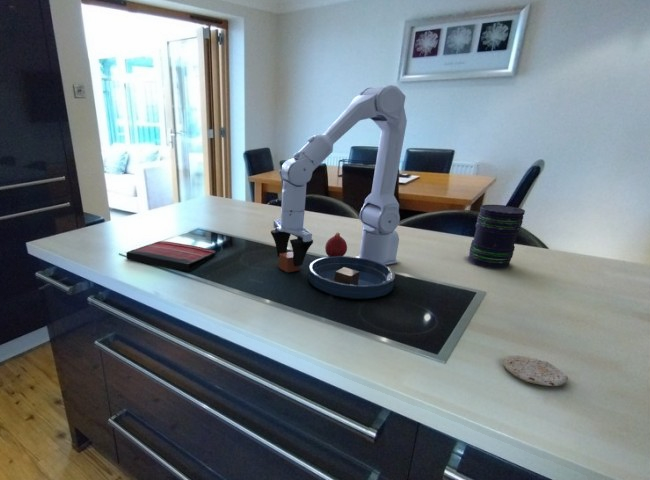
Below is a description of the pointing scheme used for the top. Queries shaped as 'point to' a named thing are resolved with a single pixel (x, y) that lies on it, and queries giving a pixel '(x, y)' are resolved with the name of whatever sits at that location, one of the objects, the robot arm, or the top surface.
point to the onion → (336, 246)
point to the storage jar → (495, 236)
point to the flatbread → (534, 371)
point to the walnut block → (347, 276)
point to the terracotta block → (287, 262)
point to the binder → (171, 255)
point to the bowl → (371, 278)
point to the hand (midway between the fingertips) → (289, 260)
